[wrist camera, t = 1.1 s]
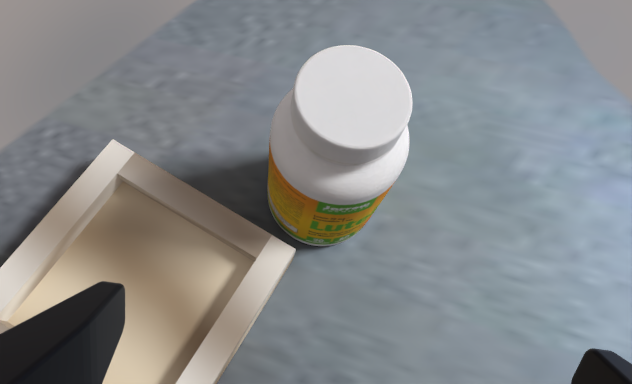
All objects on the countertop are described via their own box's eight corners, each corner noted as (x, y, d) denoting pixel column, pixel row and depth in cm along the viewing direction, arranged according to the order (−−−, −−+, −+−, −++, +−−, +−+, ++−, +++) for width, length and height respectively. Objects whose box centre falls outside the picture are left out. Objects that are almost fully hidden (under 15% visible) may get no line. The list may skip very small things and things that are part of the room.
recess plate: (167, 463, 20) (157, 472, 18) (-26, 334, 21) (-55, 330, 19) (292, 259, 23) (295, 249, 21) (123, 157, 24) (112, 139, 22)
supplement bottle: (300, 267, 23) (325, 199, 14) (248, 177, 25) (241, 61, 16) (390, 217, 25) (466, 126, 16) (337, 134, 26) (378, 6, 17)
